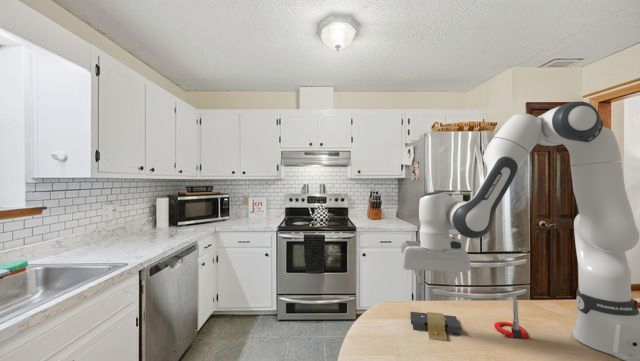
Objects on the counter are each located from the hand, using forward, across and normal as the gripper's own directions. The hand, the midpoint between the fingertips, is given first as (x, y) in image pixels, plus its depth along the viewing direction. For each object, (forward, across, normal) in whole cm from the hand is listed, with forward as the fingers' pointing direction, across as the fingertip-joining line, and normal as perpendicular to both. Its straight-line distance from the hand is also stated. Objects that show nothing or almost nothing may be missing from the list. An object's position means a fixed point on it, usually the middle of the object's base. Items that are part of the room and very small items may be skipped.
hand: (435, 283), depth 93 cm
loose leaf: (+15, -1, -2) cm, 15 cm away
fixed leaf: (+15, -1, +4) cm, 15 cm away
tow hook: (+16, +22, +5) cm, 28 cm away
